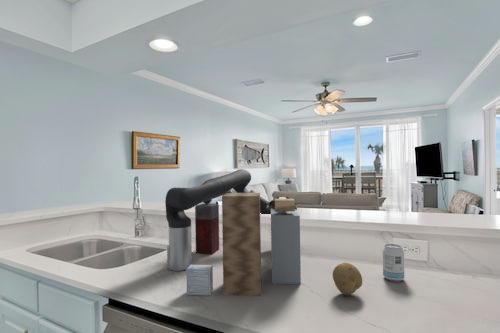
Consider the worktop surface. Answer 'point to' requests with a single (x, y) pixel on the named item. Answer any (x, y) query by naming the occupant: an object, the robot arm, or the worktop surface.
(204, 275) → the medicine box
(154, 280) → the worktop surface
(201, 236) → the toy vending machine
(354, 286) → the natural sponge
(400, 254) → the beverage can
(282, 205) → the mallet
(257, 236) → the tall pedestal
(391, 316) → the worktop surface
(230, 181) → the robot arm
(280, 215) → the short pedestal
